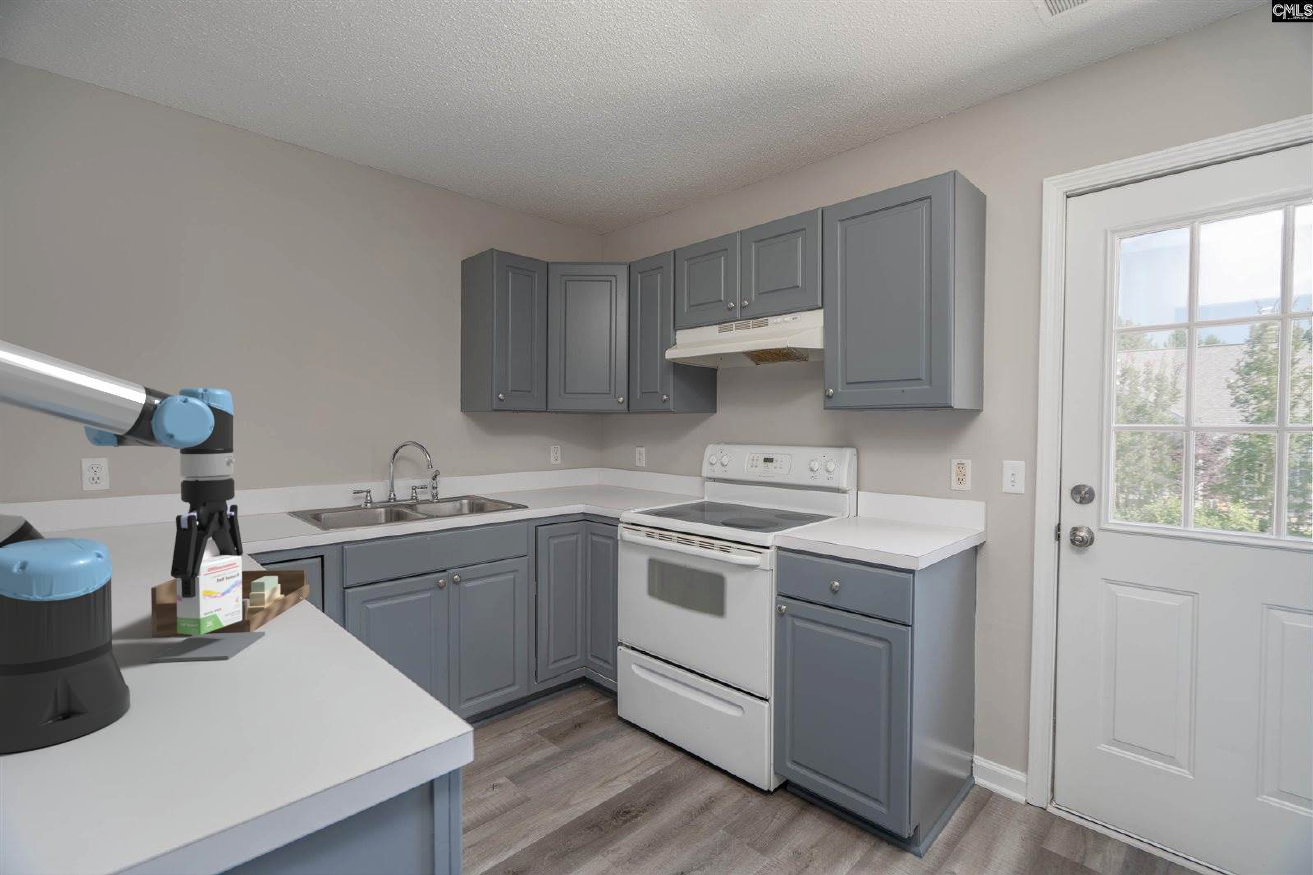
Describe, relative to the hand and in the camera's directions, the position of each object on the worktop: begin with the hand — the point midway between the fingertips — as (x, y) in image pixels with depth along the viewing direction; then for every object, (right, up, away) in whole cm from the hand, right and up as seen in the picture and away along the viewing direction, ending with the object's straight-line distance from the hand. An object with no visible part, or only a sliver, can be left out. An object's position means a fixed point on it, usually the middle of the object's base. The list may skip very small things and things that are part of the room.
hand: (210, 606), depth 108 cm
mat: (0, -7, 0) cm, 7 cm away
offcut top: (-3, -2, +19) cm, 20 cm away
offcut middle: (-3, -4, +19) cm, 20 cm away
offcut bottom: (-2, -7, +19) cm, 21 cm away
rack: (-8, -7, +19) cm, 22 cm away
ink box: (0, -4, 0) cm, 4 cm away
